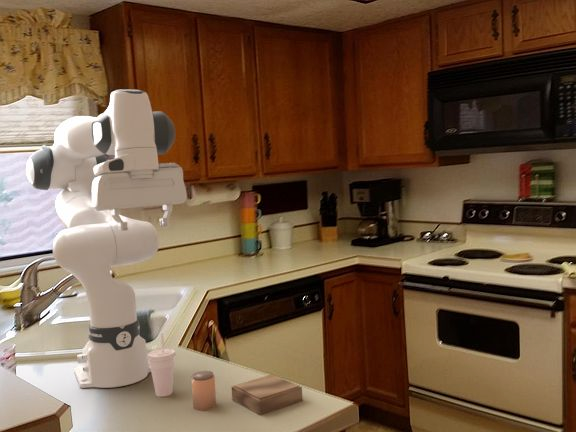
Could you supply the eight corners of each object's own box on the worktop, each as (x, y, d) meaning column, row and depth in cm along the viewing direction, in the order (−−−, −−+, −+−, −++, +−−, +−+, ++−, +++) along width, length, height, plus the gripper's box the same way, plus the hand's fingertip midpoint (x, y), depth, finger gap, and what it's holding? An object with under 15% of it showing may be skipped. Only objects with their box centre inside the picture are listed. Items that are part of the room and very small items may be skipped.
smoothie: (165, 400, 135) (161, 339, 134) (143, 396, 138) (139, 336, 137) (183, 390, 141) (179, 331, 140) (162, 387, 144) (158, 329, 143)
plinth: (232, 400, 134) (231, 385, 133) (273, 387, 140) (272, 373, 140) (260, 415, 125) (259, 399, 124) (302, 400, 131) (301, 385, 131)
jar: (189, 405, 132) (186, 374, 131) (209, 399, 135) (207, 368, 134) (200, 412, 128) (197, 380, 127) (220, 406, 131) (218, 374, 130)
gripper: (175, 164, 139) (182, 224, 139) (85, 168, 127) (92, 234, 127) (187, 160, 134) (194, 222, 134) (95, 164, 122) (103, 232, 122)
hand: (144, 228), depth 130 cm, fingers open, 8 cm apart
